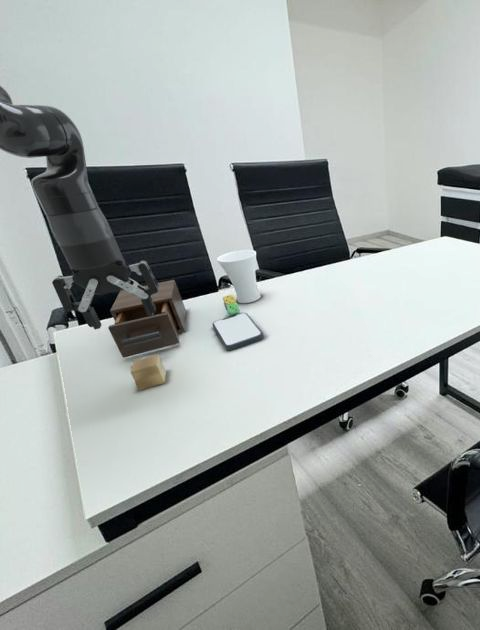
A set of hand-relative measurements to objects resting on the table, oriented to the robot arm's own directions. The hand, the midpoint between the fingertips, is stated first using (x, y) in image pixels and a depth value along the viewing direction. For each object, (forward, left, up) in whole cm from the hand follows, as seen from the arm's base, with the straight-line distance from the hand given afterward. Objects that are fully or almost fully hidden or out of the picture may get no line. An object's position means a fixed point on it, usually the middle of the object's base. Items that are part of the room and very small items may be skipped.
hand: (125, 321), depth 73 cm
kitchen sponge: (+13, +26, -14) cm, 32 cm away
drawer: (-4, +17, -13) cm, 22 cm away
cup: (+16, +37, -14) cm, 43 cm away
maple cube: (0, 0, -14) cm, 14 cm away
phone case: (+15, +15, -14) cm, 26 cm away
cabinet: (-6, +28, -14) cm, 32 cm away
